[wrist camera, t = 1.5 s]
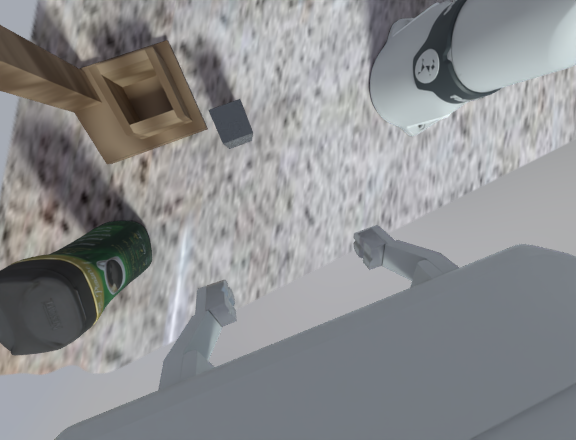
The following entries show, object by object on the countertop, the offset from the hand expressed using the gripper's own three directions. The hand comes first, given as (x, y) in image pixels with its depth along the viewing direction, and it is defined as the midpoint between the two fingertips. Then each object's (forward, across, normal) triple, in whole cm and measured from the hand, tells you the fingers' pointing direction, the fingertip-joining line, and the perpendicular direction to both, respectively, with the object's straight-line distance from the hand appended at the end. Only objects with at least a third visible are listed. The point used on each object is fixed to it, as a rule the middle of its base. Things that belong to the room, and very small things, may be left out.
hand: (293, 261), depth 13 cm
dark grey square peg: (+30, 0, -2) cm, 30 cm away
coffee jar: (+26, +24, +11) cm, 37 cm away
